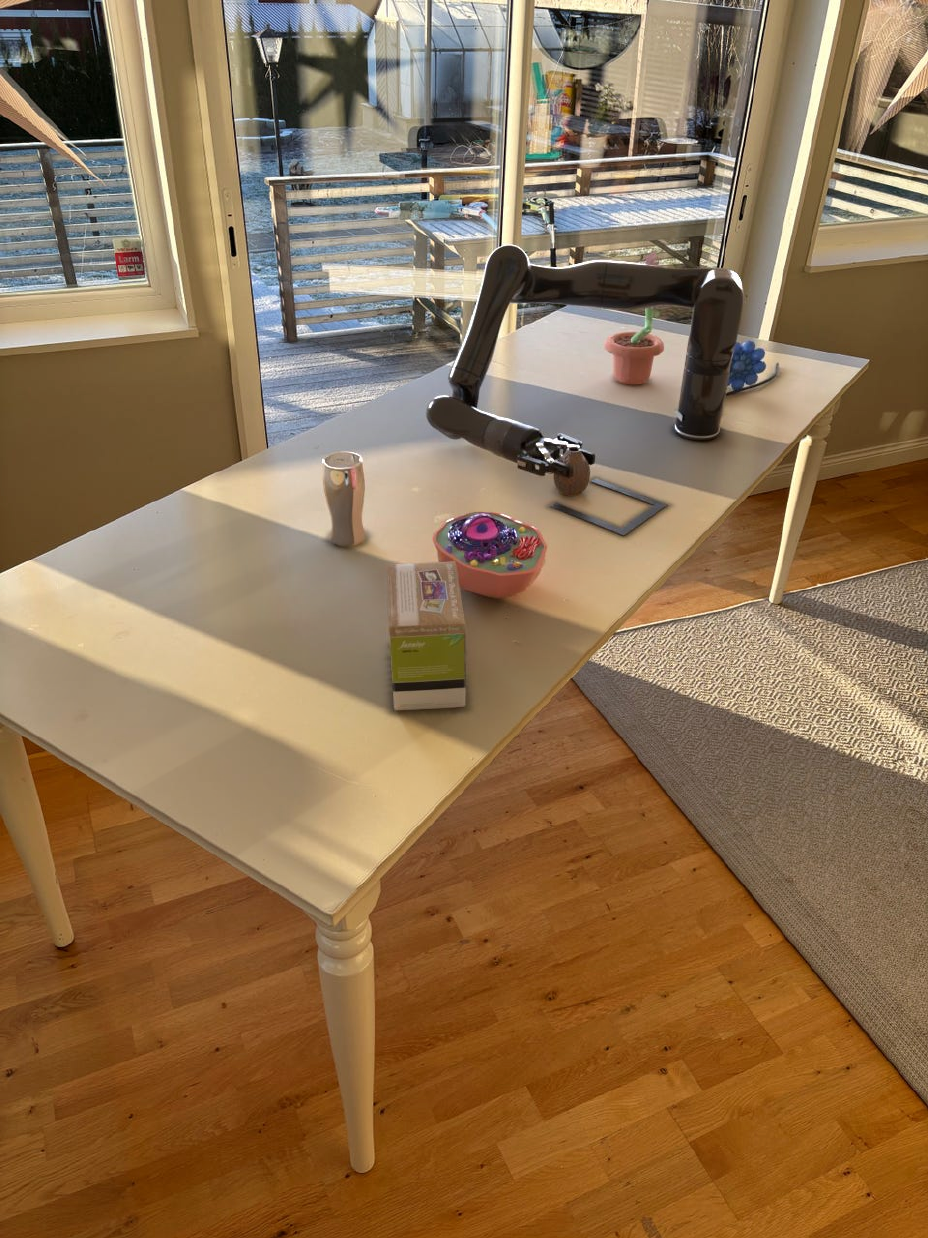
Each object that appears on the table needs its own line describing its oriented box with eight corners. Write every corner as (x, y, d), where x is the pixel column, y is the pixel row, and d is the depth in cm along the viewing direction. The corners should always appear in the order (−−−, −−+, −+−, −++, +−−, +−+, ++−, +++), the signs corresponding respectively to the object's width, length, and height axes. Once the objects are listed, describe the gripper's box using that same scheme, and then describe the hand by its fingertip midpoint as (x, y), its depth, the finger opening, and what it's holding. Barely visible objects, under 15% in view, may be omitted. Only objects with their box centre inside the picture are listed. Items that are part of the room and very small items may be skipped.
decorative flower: (620, 363, 232) (634, 237, 214) (671, 375, 225) (689, 246, 208) (591, 381, 222) (603, 250, 204) (643, 394, 216) (660, 261, 198)
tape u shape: (595, 478, 181) (596, 478, 181) (667, 505, 173) (667, 504, 173) (550, 507, 172) (550, 506, 172) (623, 536, 163) (624, 535, 163)
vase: (586, 501, 174) (590, 459, 168) (549, 497, 175) (552, 455, 169) (590, 484, 179) (594, 443, 174) (554, 481, 180) (557, 439, 175)
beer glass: (374, 531, 164) (370, 454, 155) (358, 551, 158) (352, 472, 150) (338, 525, 166) (332, 448, 157) (321, 544, 160) (313, 465, 152)
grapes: (763, 388, 220) (774, 337, 212) (758, 398, 215) (768, 347, 208) (714, 379, 223) (723, 330, 216) (708, 389, 219) (716, 339, 211)
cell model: (472, 631, 140) (474, 568, 134) (416, 567, 154) (415, 507, 148) (567, 602, 147) (573, 541, 140) (505, 544, 161) (507, 485, 154)
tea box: (390, 645, 137) (386, 560, 129) (458, 642, 138) (458, 558, 129) (392, 713, 125) (388, 624, 116) (466, 709, 126) (468, 621, 117)
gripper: (489, 434, 174) (561, 460, 165) (536, 411, 183) (606, 435, 174) (488, 470, 179) (558, 498, 170) (533, 446, 187) (602, 471, 179)
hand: (582, 466), depth 172 cm, fingers closed on vase, 6 cm apart
